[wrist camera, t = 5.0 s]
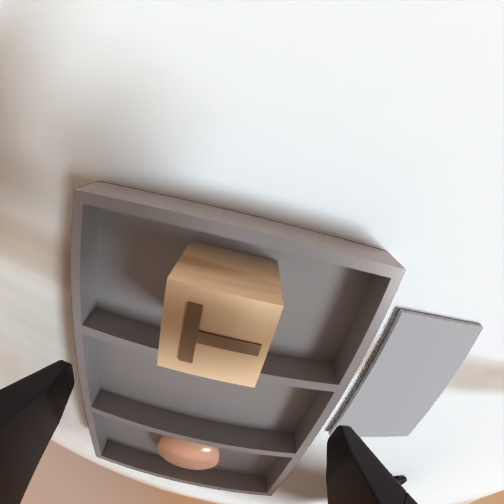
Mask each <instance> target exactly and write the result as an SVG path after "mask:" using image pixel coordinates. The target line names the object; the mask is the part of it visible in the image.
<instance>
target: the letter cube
mask: <svg viewBox="0 0 504 504" xmlns="http://www.w3.org/2000/svg"><path fill="white" fill-rule="evenodd" d="M283 307H284V303H283V295H282V288H281V280H280V273H279V266H278V261H275V260H271V259H266V258H262V257H258V256H254V255H250V254H246V253H241V252H237V251H233V250H229V249H225V248H221V247H216V246H212V245H208V244H204V243H200V242H196V241H192V240H191V241H190V243H189V244H188V246H187V247H186V249H185V251H184V252H183V254H182V255H181V257H180V258H179V260H178V262H177V263H176V265H175V266H174V268H173V270H172V271H171V273H170V274H169V276H168V278H167V282H166V289H165V297H164V305H163V313H162V321H161V330H160V340H159V350H158V360H157V365H158V366H162V367H165V368H169V369H173V370H177V371H180V372H184V373H188V374H192V375H196V376H201V377H205V378H209V379H214V380H218V381H223V382H228V383H233V384H238V385H243V386H248V387H253V388H255V385H256V383H257V380H258V377H259V375H260V372H261V369H262V366H263V364H264V361H265V358H266V356H267V353H268V350H269V347H270V344H271V342H272V339H273V336H274V333H275V330H276V328H277V325H278V322H279V319H280V316H281V313H282V310H283Z"/></svg>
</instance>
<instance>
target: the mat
mask: <svg viewBox="0 0 504 504" xmlns="http://www.w3.org/2000/svg"><path fill="white" fill-rule="evenodd" d="M482 329H483V327H482V326H481V324H475V323H470V322H465V321H459V320H454V319H449V318H444V317H439V316H434V315H429V314H424V313H419V312H414V311H409V310H404V309H400V310H399V312H398V314H397V316H396V318H395V320H394V322H393V324H392V326H391V328H390V330H389V332H388V334H387V336H386V338H385V340H384V342H383V343H382V345H381V347H380V349H379V351H378V353H377V354H376V356H375V358H374V360H373V362H372V363H371V365H370V367H369V369H368V370H367V372H366V374H365V376H364V377H363V379H362V381H361V382H360V384H359V386H358V387H357V389H356V391H355V392H354V394H353V395H352V397H351V399H350V400H349V402H348V403H347V405H346V406H345V408H344V410H343V411H342V413H341V414H340V416H339V417H338V419H337V420H336V422H335V423H334V425H333V426H332V427H331V429H330V430H329V435H331V434H332V433H333V432H334V430H335V429H336V427H337V426H339V425H347V426H350V427H351V428H352V429H353V430H354V431H355V432H356V434H357V435H358V436H359V437H388V436H408V435H409V434H410V433H411V432H412V430H413V429H414V428H415V427H416V426H417V424H418V423H419V422H420V421H421V419H422V418H423V417H424V416H425V414H426V413H427V412H428V411H429V409H430V408H431V407H432V405H433V404H434V403H435V401H436V400H437V399H438V397H439V396H440V395H441V393H442V392H443V391H444V389H445V388H446V386H447V385H448V383H449V382H450V381H451V379H452V378H453V376H454V375H455V373H456V372H457V370H458V369H459V367H460V365H461V364H462V362H463V361H464V359H465V358H466V356H467V354H468V353H469V351H470V349H471V348H472V346H473V344H474V343H475V341H476V339H477V337H478V336H479V334H480V332H481V330H482Z"/></svg>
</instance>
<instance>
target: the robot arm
mask: <svg viewBox="0 0 504 504" xmlns="http://www.w3.org/2000/svg"><path fill="white" fill-rule="evenodd" d="M73 386H74V375H73V368H72V365H71V364H70V363H68V362H65V361H63V360H59V361H57V362H55V363H53V364H51V365H49V366H47V367H45V368H43V369H41V370H39V371H37V372H35V373H33V374H31V375H29V376H27V377H25V378H23V379H21V380H19V381H17V382H15V383H13V384H11V385H9V386H7V387H5V388H2V389H0V504H20V503H21V500H22V498H23V496H24V493H25V491H26V489H27V487H28V485H29V482H30V480H31V478H32V476H33V474H34V471H35V469H36V467H37V465H38V463H39V461H40V459H41V457H42V455H43V453H44V451H45V449H46V447H47V445H48V443H49V441H50V439H51V437H52V435H53V433H54V431H55V429H56V428H57V426H58V424H59V422H60V419H61V417H62V414H63V412H64V409H65V406H66V404H67V401H68V399H69V396H70V394H71V391H72V389H73ZM406 481H407V478H406V477H399V478H394V477H393V476H392V474H391V473H390V472H389V471H388V470H387V469H386V468H385V466H384V465H383V464H382V463H381V462H380V461H379V459H378V458H377V457H376V456H375V455H374V454H373V452H372V451H371V450H370V449H369V448H368V447H367V445H366V444H365V443H364V442H363V441H362V439H361V438H360V437H359V436H358V435H357V434H356V432H355V431H354V430H353V429H352V428H351V427H350V426H347V425H339V426H337V427H336V429H335V430H334V432H333V433H332V434H331V436H330V437H329V439H328V442H327V469H326V483H327V495H328V504H418V503H417V502H416V501H415V500H414V499H413V498H412V497H411V496H410V495H409V494H408V493H406V490H405V489H404V488H403V487H402V486H401V485H402V484H403V483H405V482H406Z"/></svg>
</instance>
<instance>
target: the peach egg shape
mask: <svg viewBox="0 0 504 504" xmlns="http://www.w3.org/2000/svg"><path fill="white" fill-rule="evenodd" d="M157 449H158V452H159V454H160V455H161V456H162V457H163V458H164V459H165V460H166V461H168V462H170V463H172V464H174V465H176V466H179V467H182V468H186V469H192V470H204V469H209V468H212V467H214V466H216V465H217V463H218V461H219V455H220V448H217V447H212V446H207V445H202V444H198V443H193V442H189V441H184V440H180V439H176V438H172V437H168V436H165V435H161V437H160V440H159V444H158V447H157Z"/></svg>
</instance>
